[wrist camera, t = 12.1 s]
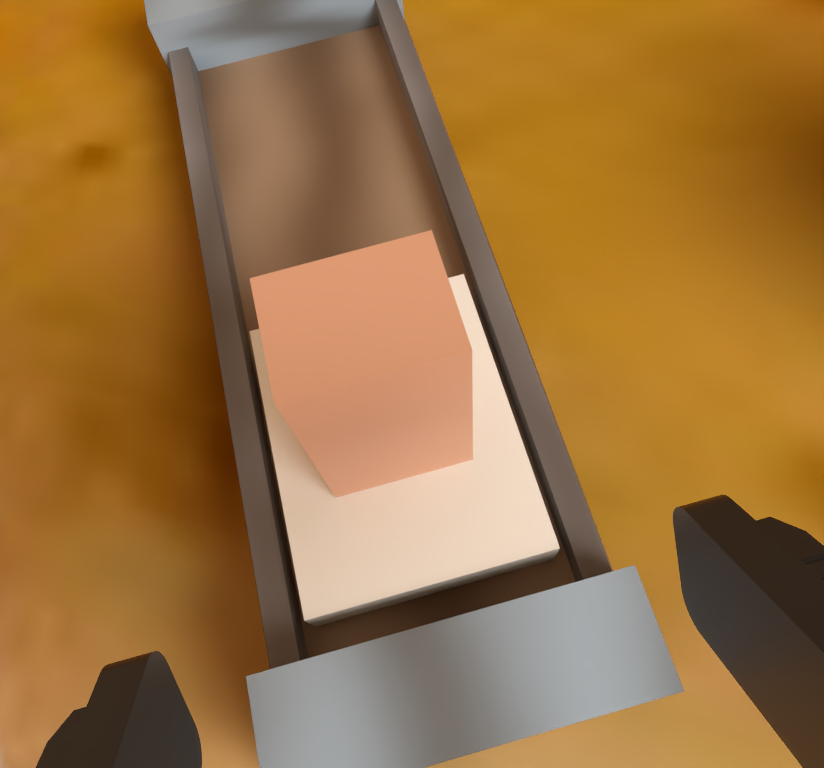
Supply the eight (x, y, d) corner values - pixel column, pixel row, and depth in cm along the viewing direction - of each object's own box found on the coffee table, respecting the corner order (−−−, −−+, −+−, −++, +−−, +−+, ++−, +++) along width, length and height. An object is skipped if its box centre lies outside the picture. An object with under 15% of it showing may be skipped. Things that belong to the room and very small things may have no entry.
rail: (390, 4, 33) (380, -84, 29) (647, 694, 20) (684, 691, 17) (177, 58, 33) (140, -24, 29) (304, 795, 20) (266, 813, 16)
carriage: (464, 298, 24) (459, 112, 17) (554, 558, 20) (601, 470, 13) (262, 353, 24) (164, 188, 16) (315, 626, 20) (220, 577, 13)
